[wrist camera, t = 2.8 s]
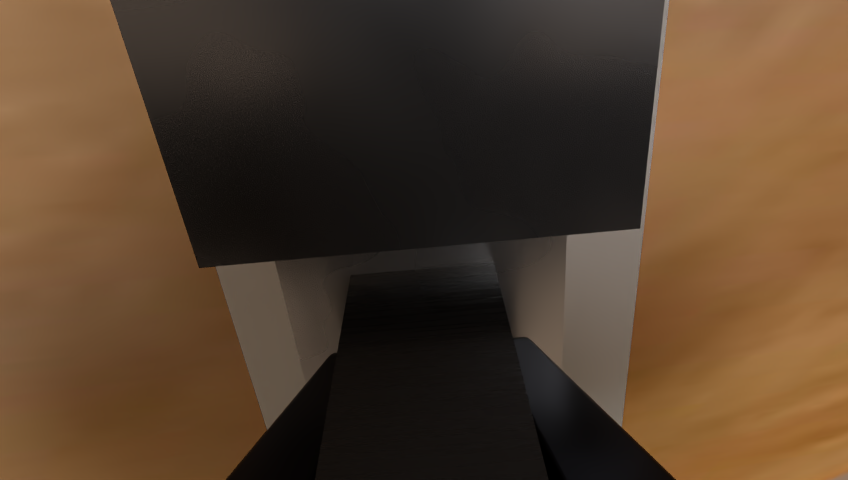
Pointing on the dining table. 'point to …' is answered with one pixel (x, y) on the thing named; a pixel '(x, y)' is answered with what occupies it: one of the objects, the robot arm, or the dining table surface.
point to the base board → (583, 312)
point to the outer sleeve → (395, 119)
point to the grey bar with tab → (428, 356)
